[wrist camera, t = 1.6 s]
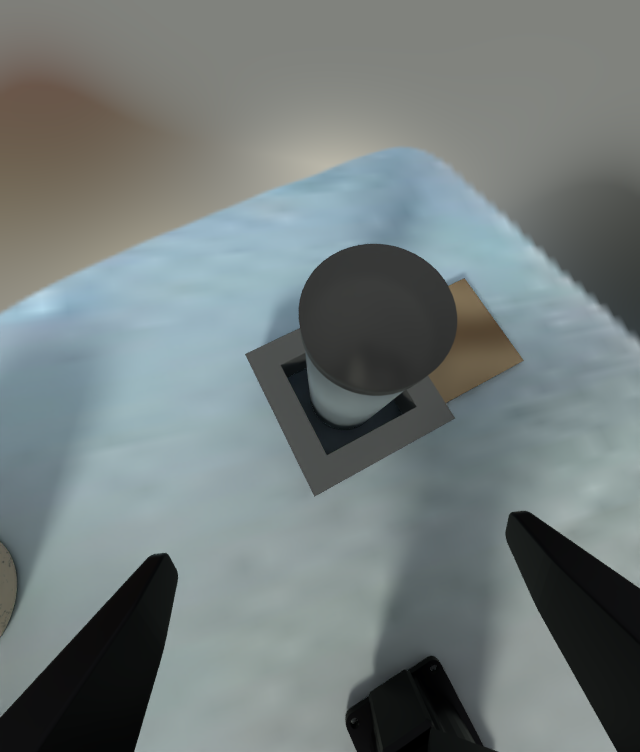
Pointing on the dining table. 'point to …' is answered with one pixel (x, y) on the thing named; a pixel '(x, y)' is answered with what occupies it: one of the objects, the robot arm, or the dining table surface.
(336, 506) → the dining table surface
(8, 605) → the teacup with lid
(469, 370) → the mat
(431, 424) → the frame
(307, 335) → the ball
